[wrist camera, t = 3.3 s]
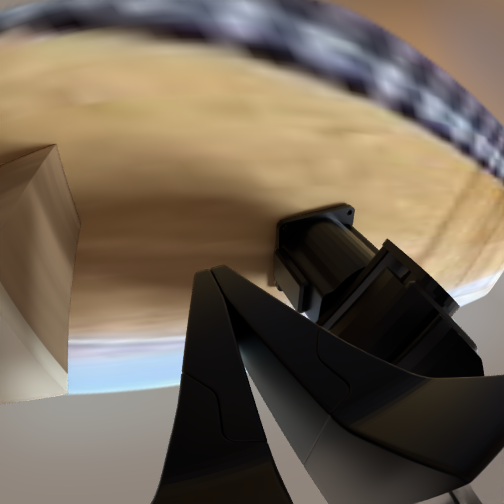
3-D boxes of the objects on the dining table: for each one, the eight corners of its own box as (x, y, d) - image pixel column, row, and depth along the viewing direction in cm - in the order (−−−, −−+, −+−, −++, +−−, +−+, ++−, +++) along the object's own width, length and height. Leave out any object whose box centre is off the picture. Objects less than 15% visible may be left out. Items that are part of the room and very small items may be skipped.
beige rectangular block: (56, 143, 13) (-23, 279, 5) (80, 223, 16) (68, 393, 8) (-17, 173, 12) (-114, 315, 3) (13, 245, 15) (-29, 407, 6)
